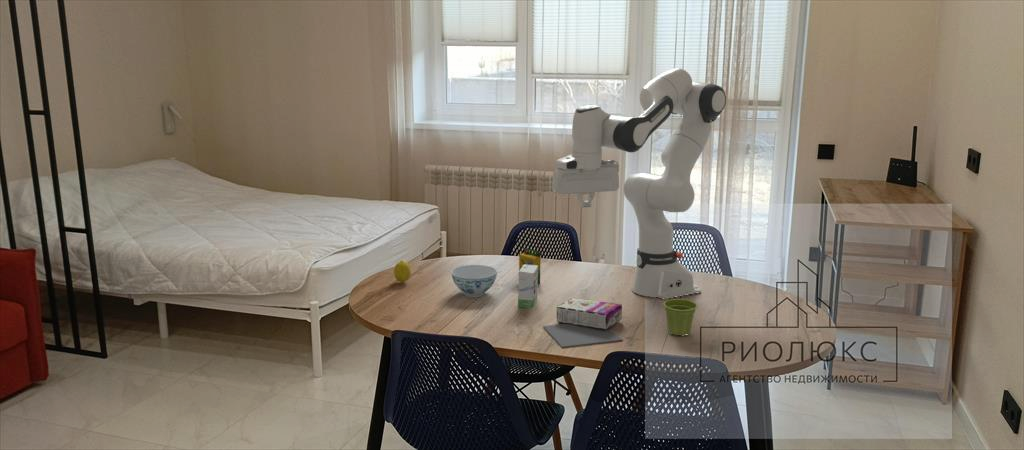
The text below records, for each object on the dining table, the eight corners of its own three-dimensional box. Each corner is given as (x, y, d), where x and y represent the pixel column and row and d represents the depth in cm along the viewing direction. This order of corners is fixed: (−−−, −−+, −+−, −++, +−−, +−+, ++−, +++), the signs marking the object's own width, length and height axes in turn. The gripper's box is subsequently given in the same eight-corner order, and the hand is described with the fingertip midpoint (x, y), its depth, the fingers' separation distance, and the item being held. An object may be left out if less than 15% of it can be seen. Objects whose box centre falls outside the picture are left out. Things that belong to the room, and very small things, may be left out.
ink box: (522, 298, 251) (522, 263, 248) (538, 299, 250) (538, 264, 247) (517, 307, 243) (517, 271, 240) (533, 308, 242) (533, 272, 239)
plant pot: (674, 341, 217) (676, 311, 214) (655, 329, 225) (657, 301, 223) (702, 336, 220) (704, 307, 218) (682, 325, 229) (684, 297, 227)
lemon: (414, 282, 268) (413, 259, 266) (403, 286, 263) (402, 263, 261) (401, 279, 270) (401, 257, 269) (391, 283, 266) (390, 261, 264)
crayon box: (518, 281, 268) (518, 249, 266) (524, 279, 271) (524, 247, 268) (535, 285, 264) (535, 253, 261) (540, 283, 266) (540, 251, 263)
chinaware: (470, 304, 246) (470, 281, 244) (442, 293, 256) (442, 270, 255) (506, 294, 255) (506, 272, 253) (478, 283, 266) (477, 262, 264)
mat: (600, 321, 232) (600, 319, 231) (622, 340, 217) (622, 339, 217) (543, 327, 227) (543, 326, 226) (562, 347, 212) (562, 346, 212)
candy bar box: (622, 320, 231) (573, 312, 239) (622, 304, 230) (573, 296, 238) (606, 331, 221) (555, 322, 230) (606, 314, 220) (555, 305, 229)
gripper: (614, 157, 234) (613, 202, 237) (550, 160, 228) (550, 206, 232) (623, 161, 228) (621, 207, 231) (558, 164, 222) (557, 211, 226)
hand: (585, 206), depth 231 cm, fingers closed
